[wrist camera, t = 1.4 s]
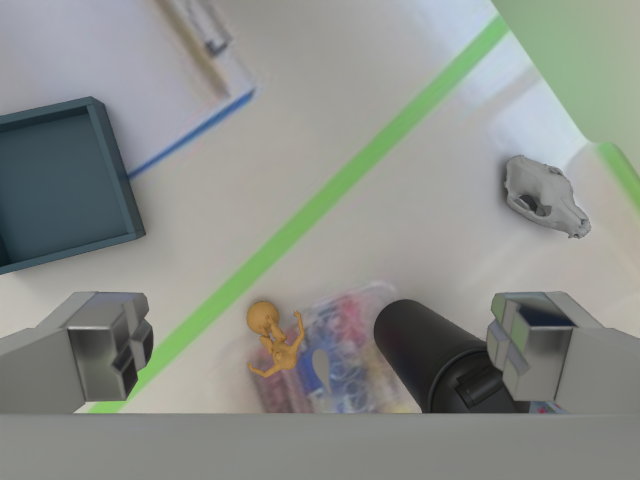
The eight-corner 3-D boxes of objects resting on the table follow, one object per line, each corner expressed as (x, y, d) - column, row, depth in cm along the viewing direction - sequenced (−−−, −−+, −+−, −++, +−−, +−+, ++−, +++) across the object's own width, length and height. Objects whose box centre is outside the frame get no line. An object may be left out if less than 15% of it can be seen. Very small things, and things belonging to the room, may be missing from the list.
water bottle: (390, 379, 59) (476, 498, 37) (353, 319, 57) (421, 405, 35) (451, 340, 60) (573, 432, 37) (417, 279, 58) (524, 338, 36)
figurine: (272, 278, 55) (279, 304, 43) (307, 308, 56) (323, 341, 44) (228, 327, 55) (223, 366, 43) (264, 356, 56) (268, 402, 44)
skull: (532, 134, 55) (624, 184, 49) (523, 174, 63) (602, 221, 57) (489, 174, 54) (578, 230, 48) (486, 210, 62) (562, 262, 56)
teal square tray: (-42, 135, 47) (-69, 130, 43) (104, 103, 49) (91, 96, 45) (9, 270, 50) (-12, 277, 46) (146, 234, 52) (137, 238, 48)
